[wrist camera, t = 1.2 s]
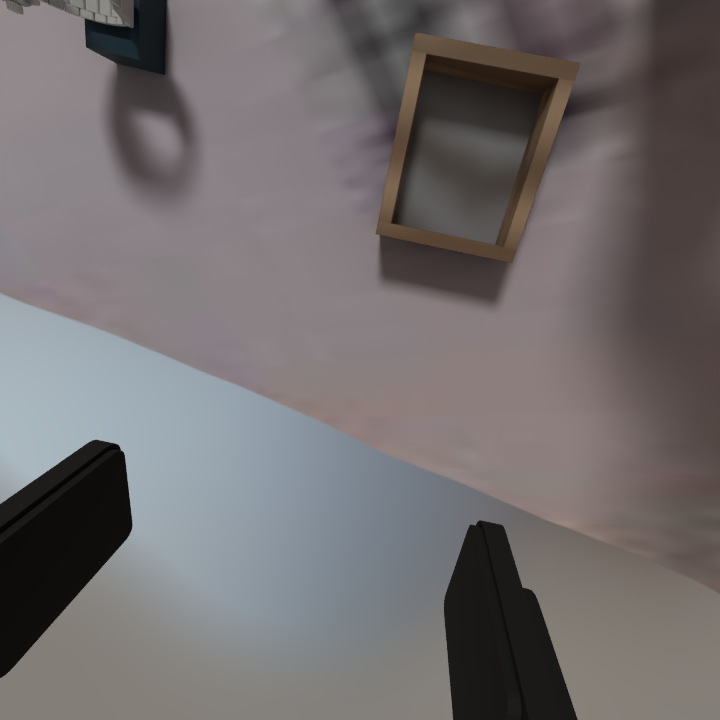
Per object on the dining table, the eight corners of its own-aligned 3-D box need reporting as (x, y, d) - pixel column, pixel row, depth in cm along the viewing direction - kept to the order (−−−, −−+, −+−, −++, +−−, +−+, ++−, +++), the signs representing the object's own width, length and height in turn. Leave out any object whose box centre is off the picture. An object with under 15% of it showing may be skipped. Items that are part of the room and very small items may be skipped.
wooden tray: (414, 57, 28) (415, 32, 25) (557, 83, 28) (580, 62, 24) (379, 232, 33) (375, 234, 29) (500, 257, 33) (512, 262, 29)
